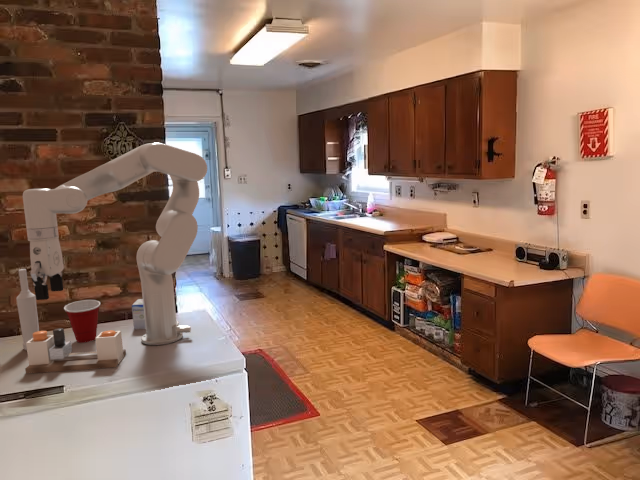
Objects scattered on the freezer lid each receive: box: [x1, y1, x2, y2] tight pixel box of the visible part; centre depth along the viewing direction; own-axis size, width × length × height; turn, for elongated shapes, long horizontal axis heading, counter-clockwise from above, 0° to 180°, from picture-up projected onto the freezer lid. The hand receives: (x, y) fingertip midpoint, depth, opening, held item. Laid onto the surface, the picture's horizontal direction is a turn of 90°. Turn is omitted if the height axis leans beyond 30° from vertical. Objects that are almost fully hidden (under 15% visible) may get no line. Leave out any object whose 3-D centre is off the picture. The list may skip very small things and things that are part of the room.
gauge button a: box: [100, 329, 116, 337], centre depth 149 cm, size 4×4×2 cm
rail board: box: [24, 348, 127, 374], centre depth 150 cm, size 24×10×2 cm, turn 94°
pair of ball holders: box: [26, 330, 125, 366], centre depth 149 cm, size 24×5×8 cm, turn 94°
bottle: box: [16, 268, 40, 351], centre depth 163 cm, size 5×5×25 cm
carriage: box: [49, 327, 73, 360], centre depth 148 cm, size 4×6×8 cm, turn 4°
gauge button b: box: [33, 330, 48, 342], centre depth 148 cm, size 4×4×2 cm
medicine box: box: [131, 298, 146, 330], centre depth 182 cm, size 8×4×9 cm, turn 5°
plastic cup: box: [63, 299, 101, 344], centre depth 169 cm, size 11×11×12 cm
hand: (50, 295), depth 146 cm, fingers open, 9 cm apart
